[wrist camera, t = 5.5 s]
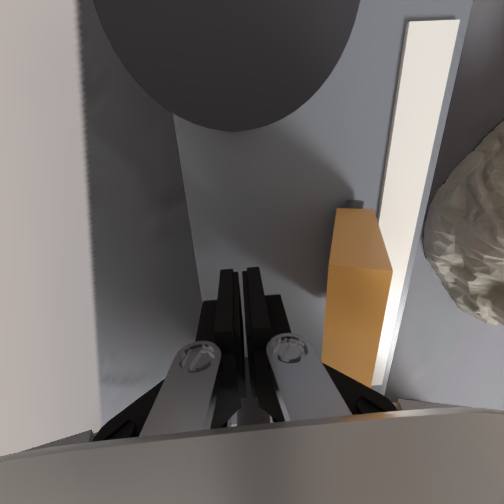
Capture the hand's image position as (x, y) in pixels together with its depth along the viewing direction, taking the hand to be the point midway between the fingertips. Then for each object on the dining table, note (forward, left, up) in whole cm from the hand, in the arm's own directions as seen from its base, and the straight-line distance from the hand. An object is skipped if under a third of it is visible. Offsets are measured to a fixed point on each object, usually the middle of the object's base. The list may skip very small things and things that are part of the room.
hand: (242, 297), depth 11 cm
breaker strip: (-4, 0, -8) cm, 9 cm away
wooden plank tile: (-6, 0, -2) cm, 6 cm away
